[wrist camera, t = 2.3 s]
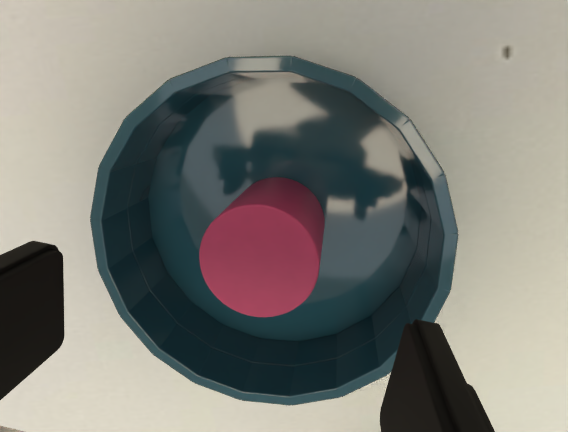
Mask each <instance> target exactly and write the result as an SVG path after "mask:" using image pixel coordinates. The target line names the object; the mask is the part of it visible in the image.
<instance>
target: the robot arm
mask: <svg viewBox="0 0 568 432" xmlns="http://www.w3.org/2000/svg"><path fill="white" fill-rule="evenodd" d="M63 340H64V287H63V255H62V253H61V252H59V250H58V248H57V247H56V246H55V245H51V244H46V243H41V242H36V241H31V242H28V243H26V244H24V245H22V246H20V247H17V248H15V249H13V250H11V251H8V252H6V253H4V254H2V255H0V400H1V399H2V398H3V397H5V396H6V395H7V394H8V393H9V392H10V391H11V390H12V389H14V388H15V387H16V386H17V385H18V384H19V383H20V382H22V381H23V380H24V379H25V378H26V377H27V376H28V375H30V374H31V373H32V372H33V371H34V370H35V369H36V368H38V367H39V366H40V365H41V364H42V363H43V362H44V361H45V360H47V359H48V358H49V357H50V356H51V355H52V354H53V353H55V352H56V351H57V350H58V349H59V348H60V346H61V345H62V342H63ZM380 426H381V432H495V431H494V429H493V427H492V425H491V423H490V421H489V419H488V416H487V414H486V412H485V410H484V408H483V406H482V404H481V402H480V400H479V398H478V396H477V394H476V391H475V390H474V388H473V387H472V386H471V385H469V384H467V383H466V381H465V379H464V376H463V374H462V372H461V370H460V368H459V366H458V363H457V361H456V359H455V357H454V355H453V353H452V350H451V348H450V346H449V344H448V342H447V340H446V337H445V335H444V333H443V331H442V329H441V327H440V325H439V324H437V323H432V322H427V321H423V320H418V319H415V320H414V321H413V323H412V324H409V323H406V324H405V326H404V329H403V333H402V336H401V340H400V343H399V347H398V350H397V354H396V357H395V361H394V364H393V368H392V371H391V375H390V378H389V382H388V385H387V389H386V393H385V396H384V400H383V403H382V407H381V412H380ZM0 432H24V431H20V430H16V429H11V428H7V427H3V426H0Z"/></svg>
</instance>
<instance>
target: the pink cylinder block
mask: <svg viewBox="0 0 568 432" xmlns="http://www.w3.org/2000/svg"><path fill="white" fill-rule="evenodd" d="M324 226H325V220H324V214H323V210H322V207H321V205H320V203H319V201H318V199H317V198H316V197H315V195H314V194H313V193H312V192H311V191H310V190H309V189H308V188H307V187H305V186H304V185H302V184H301V183H299V182H297V181H294V180H292V179H288V178H282V177H272V178H266V179H263V180H260V181H258V182H256V183H254V184H252V185H251V186H250V187H248V188H247V189H246V190H245V191H244V192H243V193H242V194H241V195H240V196H239V197H238V198H236V199H235V200H234V201H233V202H232V203H231V204H230V205H229V206H228V207H227V208H226V209H225V210H224V211H223V212H222V213H221V214H220V215H219V216H218V217H216V218H215V219H214V221H213V222H212V223H211V224H210V225H209V227H208V228H207V230H206V231H205V233H204V235H203V238H202V241H201V245H200V251H199V261H200V268H201V272H202V275H203V277H204V280H205V282H206V284H207V286H208V287H209V289H210V290H211V291H212V293H213V294H214V295H215V296H216V297H217V298H218V299H219V300H220V301H221V302H222V303H223V304H225V305H226V306H228V307H229V308H231V309H233V310H235V311H237V312H239V313H242V314H245V315H249V316H254V317H274V316H278V315H282V314H285V313H287V312H289V311H291V310H293V309H295V308H296V307H298V306H299V305H301V304H302V303H303V302H304V301H305V300H306V299H307V298H308V296H309V295H310V294H311V292H312V291H313V289H314V287H315V284H316V282H317V279H318V275H319V267H320V259H321V251H322V243H323V234H324Z"/></svg>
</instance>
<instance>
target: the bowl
mask: <svg viewBox="0 0 568 432" xmlns="http://www.w3.org/2000/svg"><path fill="white" fill-rule="evenodd" d="M272 177H282V178H288V179H292V180H294V181H297V182H299V183H301V184H302V185H304V186H305V187H307V188H308V189H309V190H310V191H311V192H312V193H313V194H314V195H315V197H316V198H317V199H318V201H319V203H320V205H321V207H322V210H323V214H324V220H325V226H324V234H323V243H322V251H321V259H320V267H319V275H318V279H317V282H316V284H315V287H314V289H313V291H312V292H311V294H310V295H309V296H308V298H307V299H306V300H305V301H304V302H303V303H302V304H301V305H299V306H298V307H296V308H295V309H293V310H291V311H289V312H287V313H285V314H282V315H278V316H274V317H254V316H249V315H245V314H242V313H239V312H237V311H235V310H233V309H231V308H229V307H228V306H226V305H225V304H223V303H222V302H221V301H220V300H219V299H218V298H217V297H216V296H215V295H214V294H213V293H212V291H211V290H210V289H209V287H208V286H207V284H206V282H205V280H204V277H203V275H202V272H201V268H200V261H199V251H200V245H201V241H202V238H203V235H204V233H205V231H206V230H207V228H208V227H209V225H210V224H211V223H212V222H213V221H214V219H215V218H216V217H218V216H219V215H220V214H221V213H222V212H223V211H224V210H225V209H226V208H227V207H228V206H229V205H230V204H231V203H232V202H233V201H234V200H235V199H236V198H238V197H239V196H240V195H241V194H242V193H243V192H244V191H245V190H246V189H247V188H248V187H250V186H251V185H252V184H254V183H256V182H258V181H260V180H263V179H266V178H272ZM90 218H91V219H90V222H91V228H92V235H93V241H94V248H95V255H96V261H97V268H98V269H99V270H98V271H99V273H100V275H101V278H102V280H103V282H104V284H105V286H106V288H107V290H108V292H109V295H110V297H111V299H112V301H113V303H114V305H115V307H116V309H117V311H118V314H119V315H120V317H121V318H122V319H123V320H124V322H125V323H126V324H127V325H128V326H129V327H130V329H131V330H132V331H133V332H134V333H135V334H136V336H137V337H138V338H139V339H140V340H141V341H142V343H143V344H144V345H145V346H146V347H147V348H148V350H149V351H150V352H151V353H152V354H153V355H154V356H156V357H157V358H159V359H160V360H162V361H163V362H164V363H166V364H167V365H169V366H170V367H172V368H173V369H175V370H176V371H177V372H179V373H180V374H182V375H183V376H185V377H186V378H188V379H189V380H190V381H192V382H195V383H196V384H198V385H201V386H204V387H206V388H209V389H212V390H214V391H217V392H220V393H222V394H225V395H228V396H231V397H233V398H236V399H239V400H242V401H252V402H262V403H271V404H281V405H297V404H303V403H309V402H316V401H322V400H328V399H334V398H340V397H343V396H345V395H347V394H349V393H351V392H353V391H355V390H357V389H359V388H361V387H364V386H366V385H368V384H370V383H372V382H374V381H376V380H378V379H380V378H382V377H384V376H386V375H387V374H389V373H390V372H391V371H392V368H393V364H394V361H395V357H396V354H397V350H398V347H399V343H400V340H401V336H402V333H403V329H404V326H405V324H406V323H409V324H412V323H413V321H414V320H415V319H418V320H423V321H427V322H432V323H434V322H435V320H436V318H437V316H438V314H439V312H440V310H441V308H442V306H443V305H444V303H445V301H446V299H447V297H448V295H449V293H450V290H451V286H452V279H453V271H454V264H455V256H456V248H457V241H458V228H457V224H456V219H455V215H454V211H453V206H452V202H451V197H450V193H449V188H448V184H447V179H446V175H445V174H444V171H443V169H442V168H441V166H440V165H439V163H438V161H437V160H436V158H435V157H434V155H433V154H432V152H431V150H430V149H429V147H428V146H427V144H426V143H425V141H424V140H423V138H422V136H421V135H420V133H419V132H418V130H417V129H416V127H415V125H414V124H413V122H412V121H411V120H410V119H409V117H407V116H406V115H405V114H404V113H402V112H401V111H400V110H398V109H397V108H396V107H395V106H393V105H392V104H391V103H389V102H388V101H387V100H386V99H384V98H383V97H382V96H380V95H379V94H378V93H377V92H375V91H374V90H373V89H371V88H370V87H369V86H368V85H366V84H365V83H364V82H362V81H361V80H360V79H358V78H356V77H355V76H352V75H349V74H346V73H343V72H340V71H337V70H334V69H331V68H328V67H325V66H322V65H319V64H316V63H313V62H310V61H307V60H304V59H301V58H298V57H295V56H293V57H292V56H250V57H227V58H226V57H225V58H223V59H220V60H217V61H215V62H212V63H210V64H207V65H204V66H202V67H199V68H197V69H194V70H191V71H189V72H186V73H184V74H181V75H178V76H176V77H173V78H171V79H169V80H167V81H166V82H165V83H164V84H163V85H162V86H161V87H160V88H158V89H157V90H156V91H155V92H154V93H153V94H152V95H150V96H149V97H148V98H147V99H146V100H145V101H144V102H142V103H141V104H140V105H139V106H138V107H137V108H136V109H134V110H133V111H132V112H131V113H130V114H129V115H128V116H127V117H126V118H125V119H124V121H123V122H122V124H121V126H120V128H119V130H118V132H117V134H116V135H115V137H114V139H113V141H112V143H111V145H110V146H109V148H108V150H107V152H106V154H105V156H104V157H103V159H102V161H101V163H100V165H99V168H98V173H97V179H96V185H95V191H94V197H93V204H92V210H91V216H90Z"/></svg>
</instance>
